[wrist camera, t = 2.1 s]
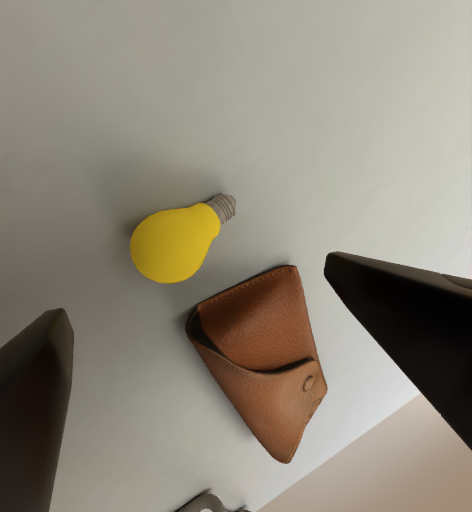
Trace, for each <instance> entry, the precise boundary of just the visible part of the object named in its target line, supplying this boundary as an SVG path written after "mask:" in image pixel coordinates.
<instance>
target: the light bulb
mask: <svg viewBox="0 0 472 512" xmlns="http://www.w3.org/2000/svg"><path fill="white" fill-rule="evenodd" d="M235 204H236V200H235V199H234V197H233V196H229V195H226V194H223V193H220V194H218V195H217V196H215V197H214V198H212V199H211V200H209V202H206V203H205V204H203V203H198V204H195V205H193V206H191V207H189V208H180V209H171V210H164V211H159V212H157V213H155V214H153V215H151V216H148V217H147V218H146V219H145V220H144V221H142V222H141V223H140V224H139V225H138V226H137V228H136V229H135V231H134V233H133V235H132V237H131V243H130V252H131V257H132V261H133V262H134V264H135V266H136V267H137V269H138V270H139V271H140V272H141V273H142V274H143V275H144V276H146V277H147V278H149V279H151V280H153V281H156V282H158V283H168V284H172V283H176V282H181V281H184V280H185V279H187V278H189V277H191V276H192V275H194V273H195V272H196V271H197V270H198V269H199V268H200V267H201V265H202V263H203V261H204V258H205V256H206V254H207V252H208V249H209V247H210V244H211V242H212V240H213V239H214V238H215V237H216V236H217V235H218V234H219V232H220V225H221V224H223V223H224V222H225V221H227V220H229V218H231V217H232V216H234V215H235Z"/></svg>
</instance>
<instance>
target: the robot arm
mask: <svg viewBox="0 0 472 512" xmlns="http://www.w3.org/2000/svg"><path fill="white" fill-rule="evenodd" d="M324 276H325V278H326V279H327V281H328V282H329V284H330V285H331V286H332V288H333V289H334V291H335V292H336V293H337V295H338V296H339V297H340V299H341V300H342V302H343V303H344V304H345V306H346V307H347V308H348V309H349V311H350V312H351V313H352V314H353V315H354V316H355V318H356V319H357V320H358V321H359V322H360V323H361V324H362V326H363V327H364V328H365V329H366V330H367V331H368V332H369V334H370V335H371V336H372V337H373V338H374V339H375V340H376V342H377V343H378V344H379V345H380V346H381V347H382V348H383V350H384V351H385V352H386V353H387V354H388V355H389V356H390V357H391V359H392V360H393V361H394V362H395V363H396V364H397V365H398V367H399V368H400V369H401V370H402V371H403V372H404V373H405V375H406V376H407V377H408V378H409V379H410V380H411V381H412V383H413V384H414V385H415V386H416V387H417V388H418V389H419V391H420V392H421V393H422V394H423V395H424V396H425V397H426V399H427V400H428V401H429V402H430V403H431V404H432V405H433V407H434V408H435V409H436V410H437V411H438V412H439V413H440V414H441V416H442V417H443V418H444V420H445V421H446V422H447V423H448V424H449V425H450V426H451V428H452V429H453V430H454V431H455V432H456V433H457V434H458V435H459V437H460V438H461V439H462V440H463V441H464V442H465V444H466V445H467V446H468V447H469V448H470V449H471V450H472V280H471V279H466V278H461V277H456V276H451V275H447V274H440V273H437V272H432V271H428V270H423V269H418V268H414V267H409V266H404V265H400V264H395V263H390V262H386V261H381V260H376V259H372V258H367V257H362V256H358V255H353V254H348V253H344V252H339V251H336V252H332V253H329V254H328V255H327V256H326V262H325V268H324ZM73 348H74V332H73V329H72V326H71V324H70V321H69V319H68V316H67V313H66V311H65V310H64V309H63V308H58V309H53V310H48V311H46V312H44V313H43V314H42V315H41V316H39V317H38V318H37V319H36V320H35V321H33V322H32V323H31V324H30V325H29V326H27V327H26V328H25V329H24V330H22V331H21V332H20V333H19V334H18V335H16V336H15V337H14V338H13V339H11V340H10V341H9V342H8V343H7V344H5V345H4V346H3V347H2V348H0V512H49V508H50V502H51V497H52V491H53V486H54V480H55V475H56V469H57V464H58V458H59V453H60V448H61V442H62V437H63V431H64V426H65V420H66V415H67V409H68V404H69V398H70V392H71V385H72V369H73Z"/></svg>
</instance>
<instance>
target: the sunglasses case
mask: <svg viewBox="0 0 472 512" xmlns="http://www.w3.org/2000/svg"><path fill="white" fill-rule="evenodd" d="M185 332H186V334H187V336H188V338H189V340H190V341H191V342H192V344H193V345H194V347H195V349H196V350H197V352H198V353H199V355H200V357H201V358H202V360H203V361H204V363H205V364H206V366H207V368H208V369H209V371H210V372H211V374H212V375H213V377H214V378H215V380H216V381H217V383H218V384H219V386H220V387H221V389H222V390H223V392H224V393H225V395H226V396H227V397H228V399H229V400H230V402H231V403H232V404H233V406H234V407H235V409H236V410H237V412H238V413H239V414H240V416H241V417H242V419H243V420H244V422H245V423H246V425H247V426H248V427H249V429H250V430H251V432H252V433H253V435H254V436H255V437H256V438H257V440H258V441H259V442H260V443H261V445H262V446H263V447H264V448H265V449H266V450H267V452H269V454H270V455H271V456H272V457H273V458H274V459H276V460H277V461H279V462H281V463H284V464H288V463H290V462H291V460H292V458H293V456H294V454H295V452H296V450H297V448H298V446H299V443H300V440H301V438H302V435H303V432H304V429H305V427H306V425H307V423H308V422H309V420H310V419H311V417H312V416H313V414H314V412H315V411H316V409H317V408H318V406H319V404H320V403H321V401H322V399H323V398H324V396H325V395H326V393H327V384H326V381H325V378H324V376H323V372H322V369H321V365H320V362H319V358H318V354H317V350H316V346H315V342H314V338H313V334H312V330H311V325H310V322H309V317H308V311H307V307H306V303H305V296H304V290H303V287H302V282H301V278H300V276H299V273H298V270H297V267H296V266H294V265H283V266H280V267H277V268H275V269H272V270H270V271H267V272H264V273H262V274H259V275H257V276H254V277H252V278H250V279H248V280H246V281H243V282H241V283H239V284H237V285H235V286H233V287H231V288H229V289H227V290H225V291H222V292H220V293H218V294H216V295H214V296H212V297H210V298H208V299H206V300H205V301H203V302H200V303H199V304H197V306H196V307H195V308H194V309H193V310H192V311H191V312H190V314H189V316H188V318H187V320H186V323H185Z"/></svg>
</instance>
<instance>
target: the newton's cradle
mask: <svg viewBox="0 0 472 512" xmlns="http://www.w3.org/2000/svg"><path fill="white" fill-rule="evenodd" d="M205 508H207V509H210V510H212V512H228V511H226V510H225V509H224V507H223V504H222V502H221V501H220V500H219V498H218V497H217V496H215V495H213V494H203V495H201V496H199V497H197V498H196V499H194V500H193V501H192V502H190V503H189V504H188V505H186V506H185V507H183V508H182V509H181V510H179V511H178V512H200V511H201V510H203V509H205ZM238 512H250V511H248V510H240V511H238Z"/></svg>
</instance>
